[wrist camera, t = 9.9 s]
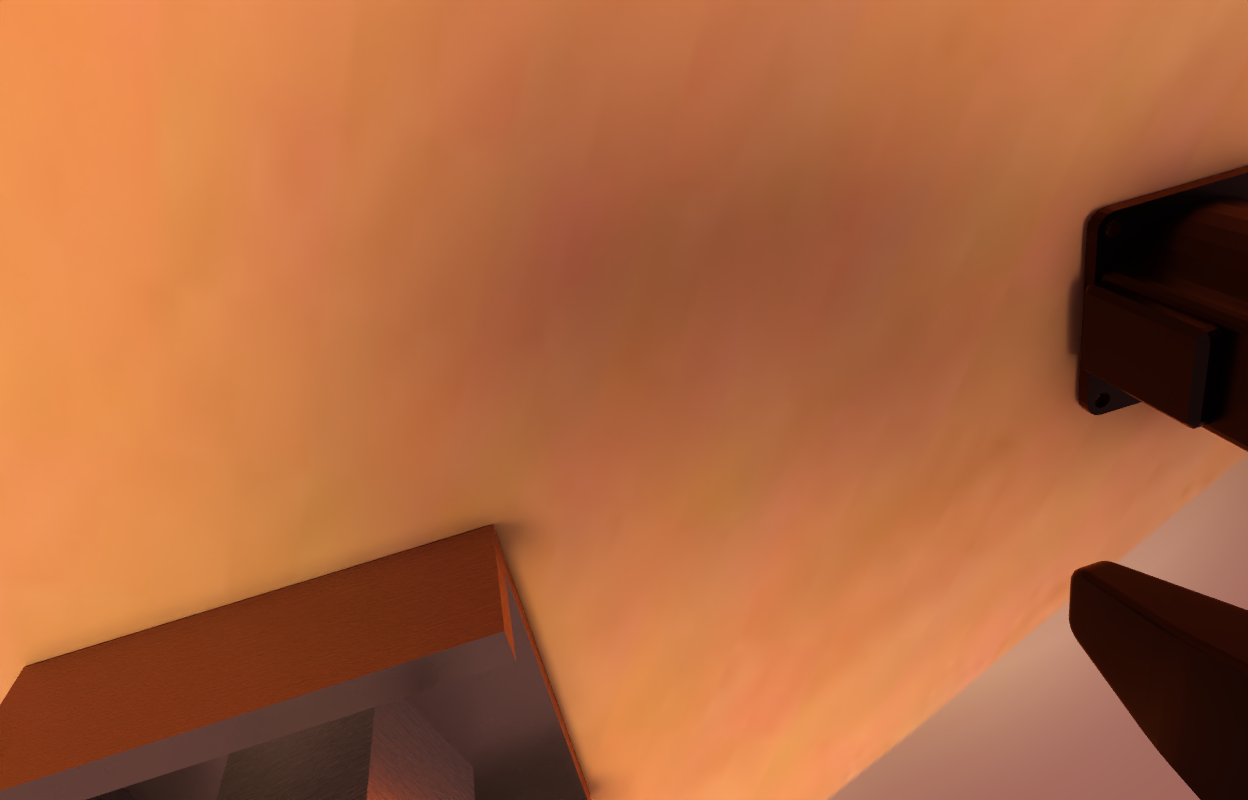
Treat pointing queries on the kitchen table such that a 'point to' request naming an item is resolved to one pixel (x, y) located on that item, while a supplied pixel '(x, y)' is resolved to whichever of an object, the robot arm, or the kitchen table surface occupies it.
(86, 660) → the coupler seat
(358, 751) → the block
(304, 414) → the kitchen table surface
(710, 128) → the kitchen table surface
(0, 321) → the kitchen table surface
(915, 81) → the kitchen table surface
